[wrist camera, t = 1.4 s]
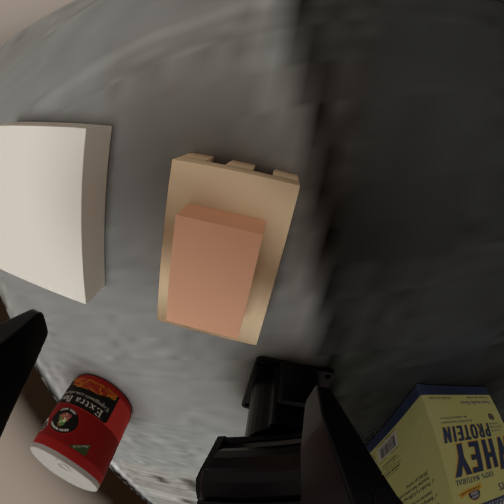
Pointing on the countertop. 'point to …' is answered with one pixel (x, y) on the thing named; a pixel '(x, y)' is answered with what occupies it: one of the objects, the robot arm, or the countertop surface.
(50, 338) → the countertop surface
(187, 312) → the block
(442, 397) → the protein box
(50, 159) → the white flat block
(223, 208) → the pallet
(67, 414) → the canned food
